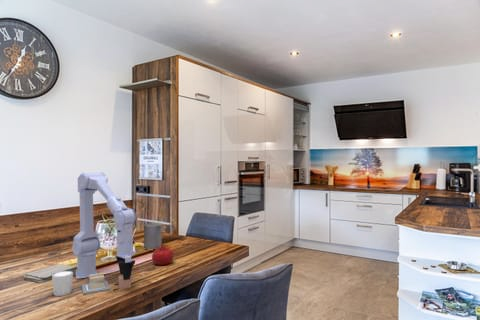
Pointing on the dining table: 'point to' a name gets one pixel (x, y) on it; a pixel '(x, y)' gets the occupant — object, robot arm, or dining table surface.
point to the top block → (124, 283)
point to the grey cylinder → (62, 283)
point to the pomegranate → (162, 256)
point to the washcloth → (47, 273)
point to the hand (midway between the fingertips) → (125, 276)
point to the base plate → (87, 290)
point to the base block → (96, 281)
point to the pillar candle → (152, 235)
